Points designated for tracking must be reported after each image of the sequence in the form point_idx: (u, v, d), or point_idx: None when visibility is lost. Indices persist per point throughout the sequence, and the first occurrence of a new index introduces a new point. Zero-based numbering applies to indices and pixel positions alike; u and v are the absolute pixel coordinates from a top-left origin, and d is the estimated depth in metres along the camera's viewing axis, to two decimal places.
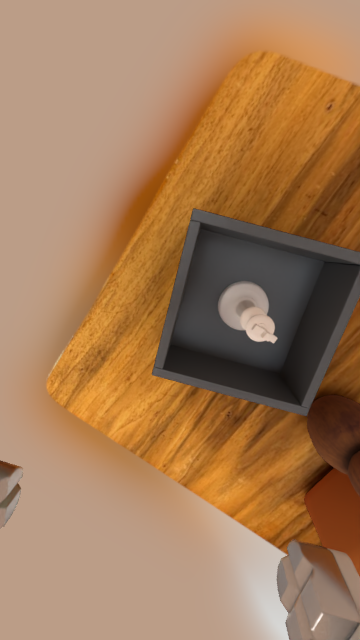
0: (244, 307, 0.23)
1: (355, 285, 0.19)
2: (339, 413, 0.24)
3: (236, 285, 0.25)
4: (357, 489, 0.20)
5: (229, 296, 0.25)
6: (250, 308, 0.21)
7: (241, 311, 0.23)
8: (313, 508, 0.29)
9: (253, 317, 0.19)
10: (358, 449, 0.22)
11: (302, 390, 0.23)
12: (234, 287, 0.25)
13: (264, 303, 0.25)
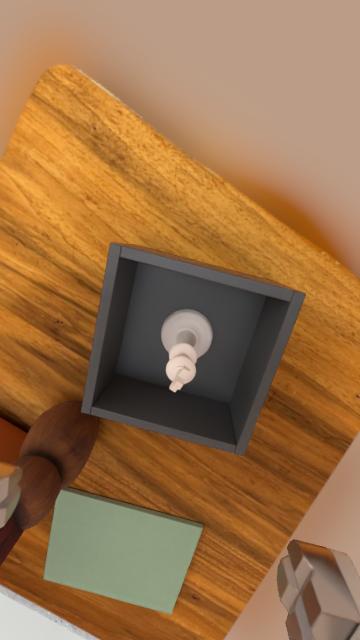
0: (191, 341, 0.22)
1: (218, 442, 0.21)
2: (84, 435, 0.24)
3: (209, 328, 0.24)
4: None
5: (198, 321, 0.24)
6: (195, 353, 0.20)
7: (186, 339, 0.22)
8: None
9: (192, 363, 0.17)
10: (52, 460, 0.22)
11: (107, 404, 0.22)
12: (207, 326, 0.24)
13: None
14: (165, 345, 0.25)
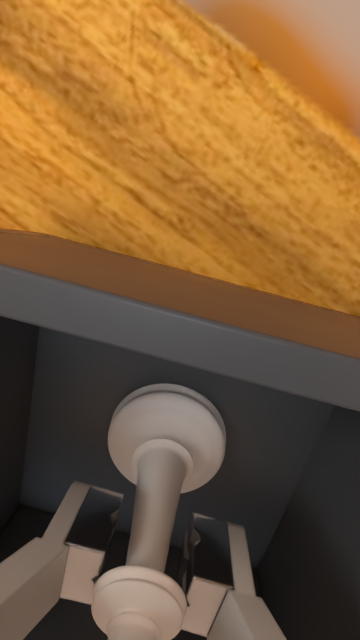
0: (172, 497, 0.08)
1: None
2: None
3: (219, 432, 0.10)
4: None
5: (192, 419, 0.10)
6: (180, 603, 0.06)
7: (159, 491, 0.08)
8: None
9: None
10: None
11: None
12: (214, 429, 0.10)
13: None
14: (117, 465, 0.11)
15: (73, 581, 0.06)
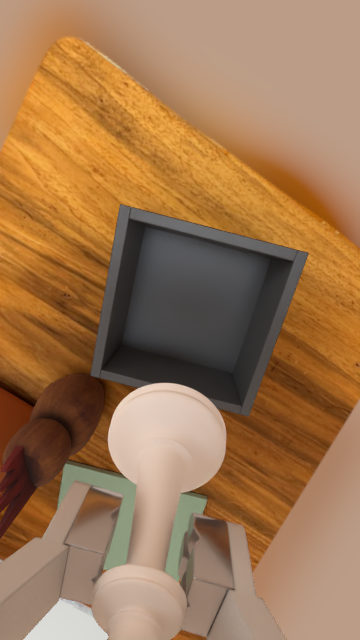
0: (172, 497, 0.08)
1: (224, 403, 0.22)
2: (93, 402, 0.25)
3: (219, 432, 0.10)
4: (24, 430, 0.20)
5: (192, 419, 0.10)
6: (181, 602, 0.06)
7: (160, 491, 0.08)
8: None
9: None
10: (63, 424, 0.23)
11: (116, 369, 0.22)
12: (215, 428, 0.10)
13: None
14: (117, 465, 0.11)
15: (73, 581, 0.06)
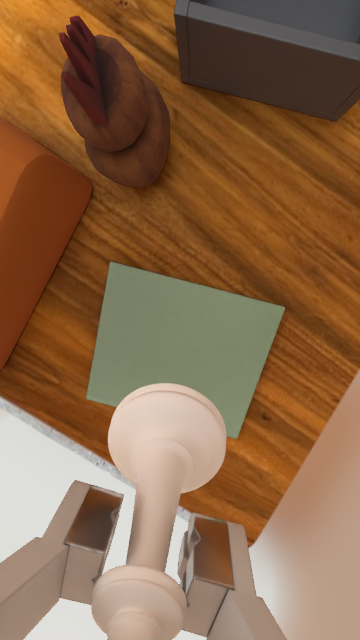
0: (172, 497, 0.08)
1: (359, 46, 0.16)
2: None
3: (220, 432, 0.10)
4: None
5: (193, 419, 0.10)
6: (181, 603, 0.06)
7: (160, 491, 0.08)
8: None
9: None
10: None
11: None
12: (215, 429, 0.10)
13: None
14: (117, 465, 0.11)
15: (73, 581, 0.06)
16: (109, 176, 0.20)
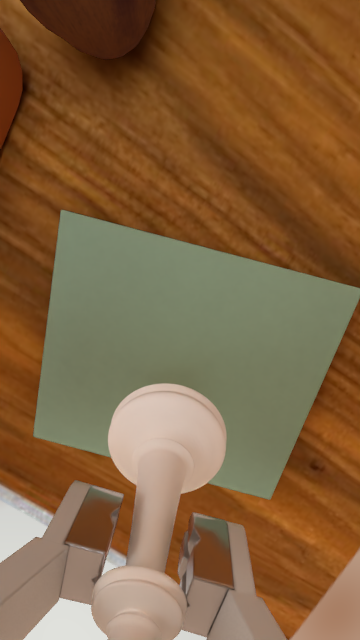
0: (172, 497, 0.08)
1: None
2: None
3: (220, 433, 0.10)
4: None
5: (192, 419, 0.10)
6: (181, 604, 0.06)
7: (160, 492, 0.08)
8: None
9: None
10: None
11: None
12: (215, 429, 0.10)
13: None
14: (117, 465, 0.11)
15: (73, 581, 0.06)
16: None
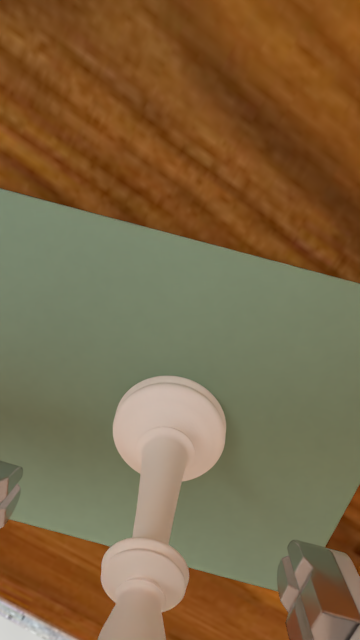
0: (174, 481, 0.08)
1: None
2: None
3: (219, 422, 0.11)
4: None
5: (194, 410, 0.10)
6: (183, 572, 0.06)
7: (163, 475, 0.08)
8: None
9: None
10: None
11: None
12: (215, 419, 0.11)
13: None
14: (122, 454, 0.11)
15: None
16: None
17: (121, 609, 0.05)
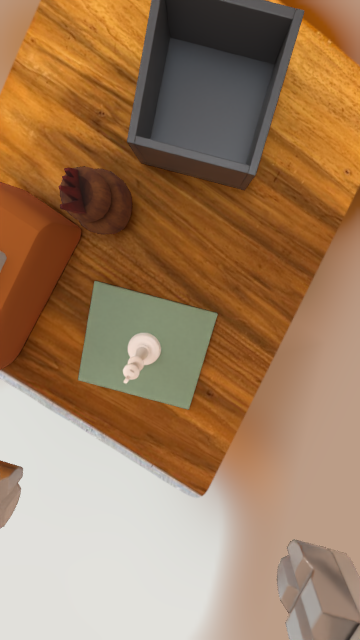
0: (143, 354, 0.36)
1: (235, 162, 0.27)
2: (125, 186, 0.30)
3: (157, 345, 0.38)
4: (77, 167, 0.25)
5: (150, 341, 0.38)
6: (142, 362, 0.34)
7: (140, 352, 0.36)
8: (24, 191, 0.33)
9: (137, 368, 0.31)
10: None
11: None
12: (156, 344, 0.38)
13: (146, 362, 0.39)
14: (130, 355, 0.39)
15: None
16: None
17: (131, 362, 0.33)
